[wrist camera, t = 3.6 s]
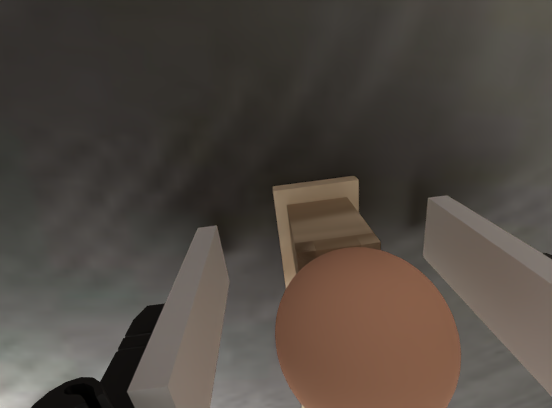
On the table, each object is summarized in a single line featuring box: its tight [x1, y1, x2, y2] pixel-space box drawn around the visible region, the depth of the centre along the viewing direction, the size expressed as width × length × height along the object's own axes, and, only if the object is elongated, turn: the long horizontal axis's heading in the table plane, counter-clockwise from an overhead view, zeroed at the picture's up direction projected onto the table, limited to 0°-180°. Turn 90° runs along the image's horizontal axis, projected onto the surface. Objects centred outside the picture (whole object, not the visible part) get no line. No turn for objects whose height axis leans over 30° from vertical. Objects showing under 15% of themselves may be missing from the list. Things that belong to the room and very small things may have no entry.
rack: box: [272, 176, 381, 408], centre depth 15 cm, size 20×4×4 cm, turn 7°
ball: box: [275, 247, 461, 408], centre depth 8 cm, size 4×4×4 cm
